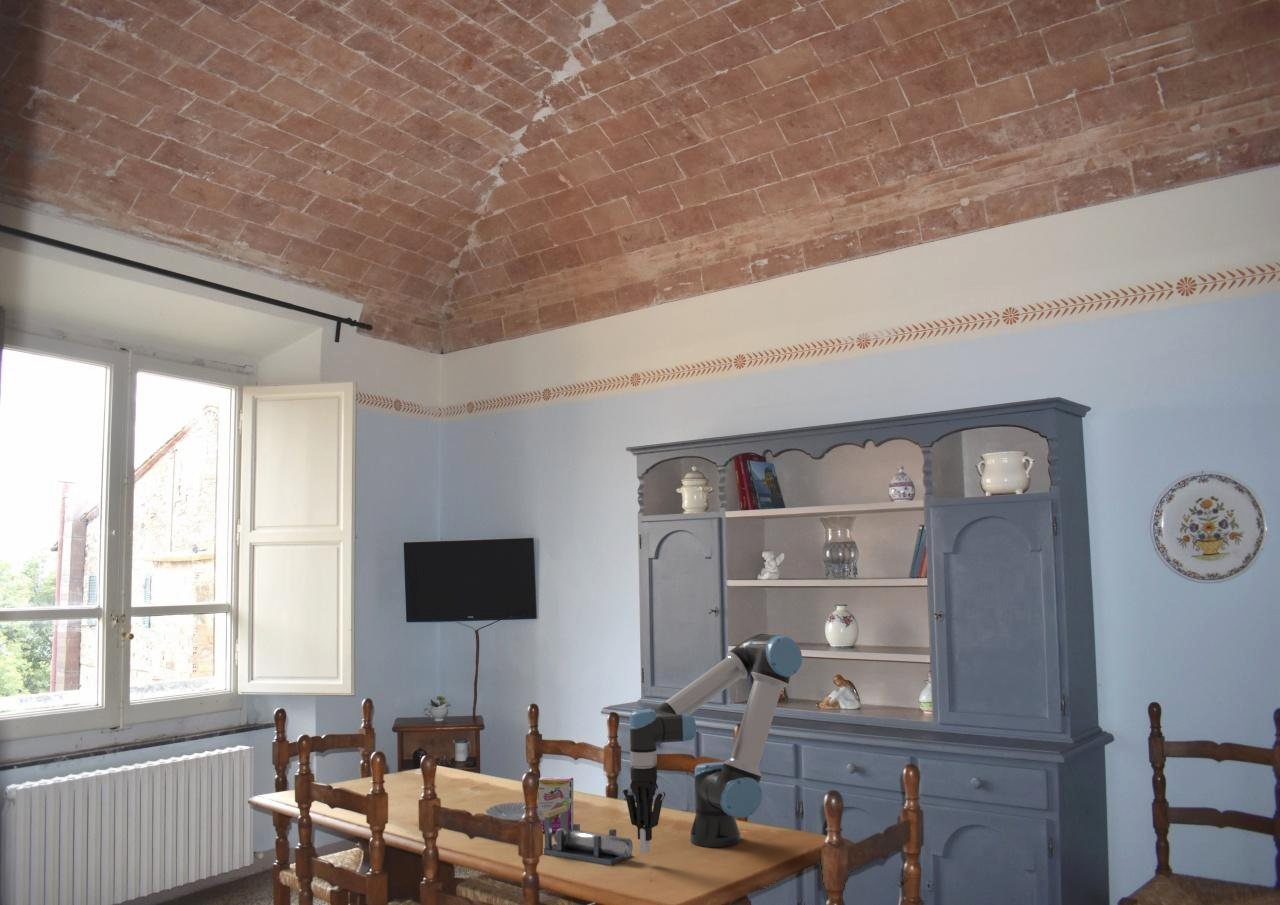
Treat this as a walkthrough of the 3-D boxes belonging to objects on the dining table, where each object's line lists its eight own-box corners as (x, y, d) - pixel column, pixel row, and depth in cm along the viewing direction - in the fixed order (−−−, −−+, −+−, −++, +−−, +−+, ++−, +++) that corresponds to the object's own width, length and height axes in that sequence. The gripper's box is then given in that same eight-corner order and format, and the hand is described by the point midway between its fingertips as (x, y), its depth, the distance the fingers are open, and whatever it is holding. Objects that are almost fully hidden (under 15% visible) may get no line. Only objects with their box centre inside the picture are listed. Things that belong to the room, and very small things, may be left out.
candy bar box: (536, 833, 322) (536, 779, 324) (539, 829, 327) (539, 776, 329) (571, 833, 321) (571, 779, 323) (574, 829, 326) (573, 776, 328)
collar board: (631, 855, 294) (631, 814, 296) (610, 865, 285) (610, 822, 286) (564, 845, 307) (564, 805, 308) (542, 854, 298) (542, 813, 299)
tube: (632, 856, 290) (633, 836, 291) (622, 859, 286) (623, 839, 287) (564, 844, 302) (565, 826, 303) (554, 847, 298) (554, 829, 299)
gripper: (670, 765, 288) (671, 851, 286) (631, 761, 295) (632, 845, 292) (656, 770, 282) (658, 858, 279) (617, 766, 289) (618, 852, 286)
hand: (645, 851), depth 286 cm, fingers closed
